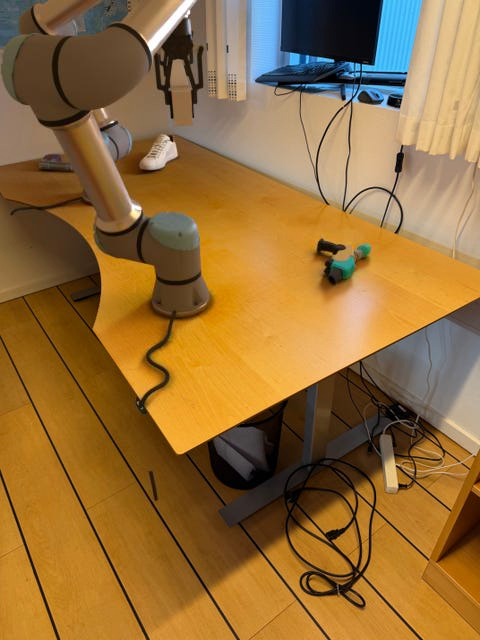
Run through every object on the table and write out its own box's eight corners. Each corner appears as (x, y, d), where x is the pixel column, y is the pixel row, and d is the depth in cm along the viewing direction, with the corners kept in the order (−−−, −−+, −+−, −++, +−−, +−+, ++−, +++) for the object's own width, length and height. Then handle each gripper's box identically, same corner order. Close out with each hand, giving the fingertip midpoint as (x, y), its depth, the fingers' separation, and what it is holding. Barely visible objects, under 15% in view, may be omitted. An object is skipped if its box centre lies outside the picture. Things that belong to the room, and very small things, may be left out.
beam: (192, 125, 125) (190, 91, 120) (174, 126, 124) (171, 92, 120) (183, 84, 173) (181, 59, 168) (170, 85, 173) (168, 59, 168)
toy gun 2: (295, 266, 131) (348, 279, 125) (326, 230, 149) (373, 240, 144) (294, 280, 133) (346, 293, 128) (325, 243, 152) (371, 253, 146)
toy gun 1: (87, 162, 220) (72, 173, 209) (51, 160, 224) (33, 171, 212) (86, 154, 218) (70, 164, 206) (49, 152, 221) (31, 162, 209)
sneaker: (133, 173, 208) (129, 144, 201) (161, 153, 230) (158, 127, 223) (155, 175, 205) (151, 146, 198) (180, 155, 227) (178, 129, 220)
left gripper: (198, 6, 157) (201, 84, 171) (143, 7, 155) (151, 85, 169) (200, 8, 151) (203, 88, 165) (143, 8, 149) (151, 89, 163)
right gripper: (210, 15, 120) (214, 112, 134) (138, 16, 119) (149, 115, 132) (212, 17, 114) (216, 119, 128) (137, 18, 113) (149, 121, 126)
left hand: (177, 86), depth 167 cm, fingers closed on beam, 5 cm apart
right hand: (182, 117), depth 130 cm, fingers closed on beam, 5 cm apart
